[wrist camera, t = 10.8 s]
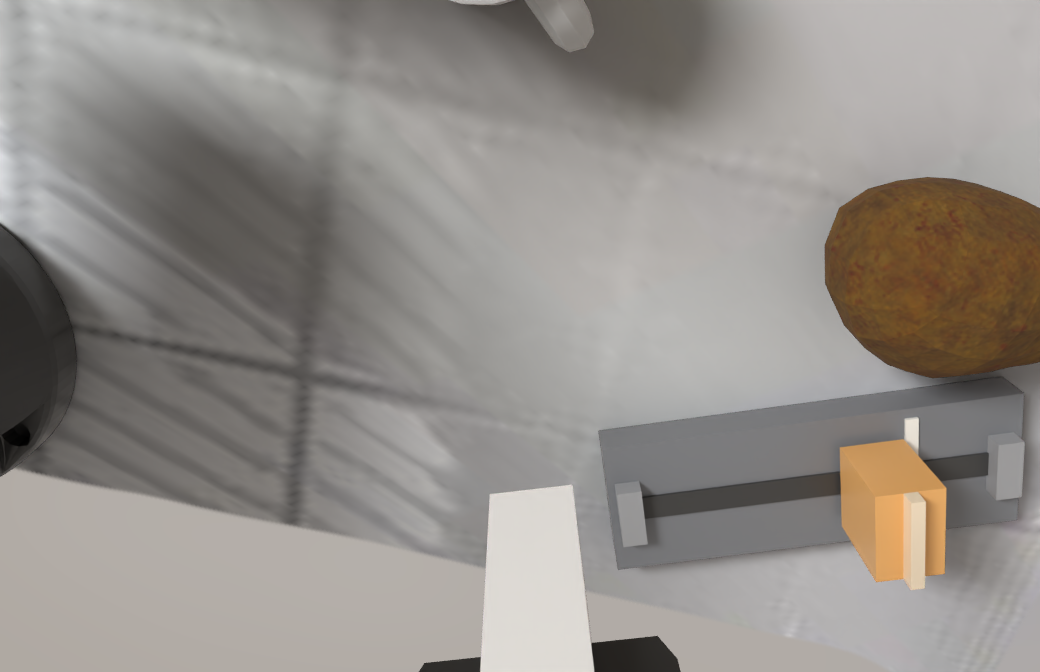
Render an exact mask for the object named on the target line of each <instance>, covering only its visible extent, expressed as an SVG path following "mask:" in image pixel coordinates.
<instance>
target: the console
mask: <svg viewBox="0 0 1040 672" xmlns="http://www.w3.org/2000/svg"><path fill="white" fill-rule="evenodd" d="M1023 407H1024V393H1023V392H1022V391H1020V390H1019V389H1018V388H1017V387H1015V386H1014V385H1013V384H1011V383H1010V382H1009V381H1008V380H1006V379H1005V378H1004V377H996V378H988V379H981V380H973V381H966V382H958V383H951V384H943V385H936V386H929V387H921V388H914V389H906V390H899V391H891V392H884V393H876V394H869V395H861V396H854V397H847V398H839V399H832V400H824V401H817V402H809V403H802V404H794V405H787V406H779V407H772V408H764V409H757V410H750V411H742V412H735V413H727V414H720V415H712V416H705V417H697V418H690V419H682V420H675V421H667V422H660V423H653V424H645V425H638V426H630V427H623V428H615V429H608V430H600V431H599V438H600V446H601V453H602V460H603V468H604V475H605V483H606V490H607V497H608V505H609V512H610V519H611V527H612V534H613V542H614V549H615V555H616V561H617V567H618V570H621V569H629V568H637V567H645V566H653V565H661V564H669V563H677V562H685V561H693V560H701V559H709V558H717V557H725V556H733V555H741V554H749V553H757V552H765V551H773V550H781V549H789V548H797V547H806V546H814V545H822V544H830V543H838V542H846V541H851V540H850V539H849V537H848V535H847V534H846V532H845V530H844V529H843V527H842V516H841V479H840V447H847V446H855V445H862V444H870V443H878V442H885V441H893V440H901V439H904V440H905V441H906V442H907V444H908V445H909V446H910V447H911V448H912V449H913V450H914V452H915V453H916V454H917V455H918V456H919V457H920V458H921V460H922V461H923V462H924V463H925V464H926V465H927V466H928V468H929V469H930V470H931V471H932V472H933V473H934V474H935V476H936V477H937V478H938V479H939V480H940V481H941V482H942V484H943V485H944V486H945V487H946V529H950V528H958V527H966V526H974V525H982V524H990V523H999V522H1007V521H1015V520H1017V516H1018V498H1019V497H1022V483H1023V465H1024V448H1025V442H1024V441H1023V440H1022V425H1023Z"/></svg>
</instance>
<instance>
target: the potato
mask: <svg viewBox="0 0 1040 672" xmlns="http://www.w3.org/2000/svg"><path fill="white" fill-rule="evenodd" d="M825 284H826V286H827V289H828V291H829V294H830V296H831V298H832V300H833V302H834V304H835V306H836V309H837V311H838V313H839V315H840V317H841V319H842V322H843V324H844V326H845V327H846V328H847V329H848V330H849V331H850V332H851V333H852V334H853V336H854V337H855V338H856V339H857V340H858V341H859V342H860V343H861V344H862V345H863V347H864V348H866V349H867V350H868V351H870V352H871V353H872V354H874V355H875V356H876V357H878V358H879V359H881V360H882V361H883V362H885V363H886V364H888V365H890V366H893V367H896V368H899V369H901V370H904V371H907V372H911V373H915V374H919V375H923V376H926V377H930V378H939V377H951V376H963V375H971V374H978V373H986V372H991V371H995V370H999V369H1003V368H1008V367H1013V366H1021V365H1028V364H1033V363H1038V362H1040V208H1038V207H1036V206H1034V205H1032V204H1030V203H1028V202H1026V201H1024V200H1022V199H1020V198H1017V197H1014V196H1011V195H1009V194H1006V193H1003V192H1001V191H997V190H994V189H991V188H988V187H985V186H982V185H979V184H975V183H970V182H966V181H961V180H957V179H948V178H931V177H925V178H917V179H908V180H900V181H895V182H892V183H888V184H884V185H881V186H877V187H873V188H870V189H867V190H866V191H864V192H863V193H861V194H860V195H858V196H857V197H855V198H854V199H852V200H851V201H849V202H848V203H846V204H845V205H843V206H842V207H840V208H839V210H838V213H837V215H836V218H835V220H834V223H833V226H832V228H831V231H830V233H829V236H828V238H827V241H826V243H825Z"/></svg>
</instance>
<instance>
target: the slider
mask: <svg viewBox="0 0 1040 672" xmlns="http://www.w3.org/2000/svg"><path fill="white" fill-rule="evenodd" d="M840 479H841V516H842V527H843V529H844V530H845V532H846V534H847V535H848V537H849V539H850V540H851V542H852V544H853V545H854V547H855V548H856V550H857V552H858V553H859V555H860V557H861V558H862V560H863V562H864V563H865V565H866V566H867V568H868V570H869V571H870V573H871V575H872V576H873V578H874V580H875V581H876V582H882V581H890V580H898V579H904V580H905V582H906V584H907V585H908V587H909V588H910V590H916V589H924V588H925V576H931V575H939V574H945V532H946V487H945V486H944V485H943V484H942V482H941V481H940V480H939V479H938V478H937V477H936V476H935V474H934V473H933V472H932V471H931V470H930V469H929V468H928V466H927V465H926V464H925V463H924V462H923V461H922V460H921V458H920V457H919V456H918V455H917V454H916V453H915V452H914V450H913V449H912V448H911V447H910V446H909V445H908V444H907V442H906V441H905V440H904V439H901V440H893V441H885V442H878V443H870V444H862V445H855V446H847V447H840Z"/></svg>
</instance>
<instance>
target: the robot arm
mask: <svg viewBox="0 0 1040 672" xmlns="http://www.w3.org/2000/svg"><path fill="white" fill-rule="evenodd" d="M75 378H76V348H75V342H74V336H73V332H72V328H71V324H70V321H69V318H68V315H67V312H66V310H65V307H64V305H63V303H62V301H61V299H60V296H59V294H58V293H57V291H56V289H55V287H54V285H53V284H52V282H51V281H50V279H49V277H48V276H47V274H46V273H45V272H44V270H43V269H42V268H41V266H40V265H39V264H38V262H37V261H36V260H35V259H34V258H33V256H32V255H31V254H30V253H29V252H28V251H27V250H26V249H25V248H24V247H23V246H22V245H21V243H19V242H18V241H17V240H16V239H15V238H14V237H13V236H12V235H11V234H10V233H8V232H7V231H6V230H5V229H3V228H2V227H1V226H0V476H2V475H4V474H6V473H7V472H8V471H10V470H12V469H13V468H15V467H16V466H17V465H18V464H20V463H21V462H22V461H23V460H24V459H25V458H27V457H28V456H29V455H30V454H31V453H32V452H33V451H34V450H36V449H37V448H38V447H39V446H40V445H41V444H42V443H43V442H44V441H45V440H46V439H47V438H48V437H49V436H50V435H51V434H52V433H53V431H54V430H55V429H56V427H57V426H58V425H59V423H60V421H61V420H62V418H63V416H64V414H65V412H66V410H67V408H68V405H69V403H70V400H71V397H72V393H73V390H74V384H75ZM483 612H484V613H483V629H482V647H481V648H482V649H481V657H478V658H470V659H469V658H468V659H459V660H450V661H440V662H431V663H424V665H423V667H422V668H421V669H420V671H419V672H680V668H679V664H678V660H677V658H676V657H675V656H674V655H673V653H672V652H671V651H670V650H669V649H668V648H667V646H666V645H665V644H664V643H663V642H662V641H661V640H660V638H659V637H658V636H653V637H645V638H634V639H625V640H615V641H606V642H597V643H592V641H591V632H590V625H589V615H588V607H587V599H586V591H585V582H584V574H583V566H582V558H581V550H580V542H579V534H578V526H577V518H576V510H575V502H574V494H573V485H566V486H557V487H548V488H539V489H531V490H522V491H513V492H505V493H496V494H490V501H489V519H488V537H487V556H486V575H485V592H484V611H483Z"/></svg>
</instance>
